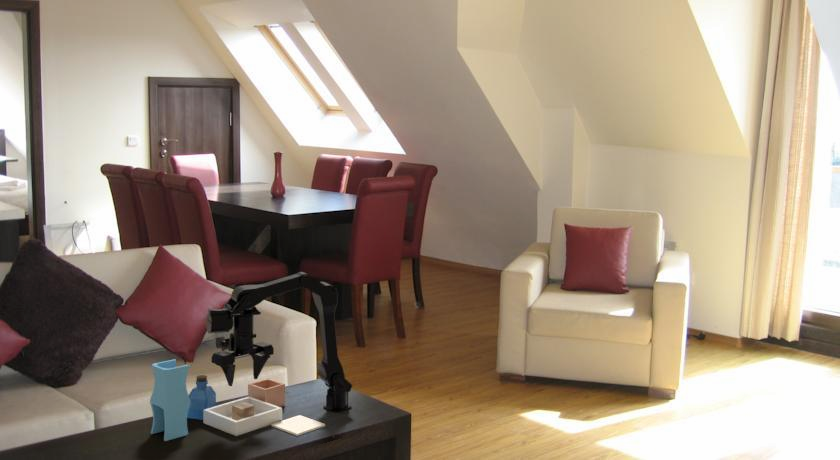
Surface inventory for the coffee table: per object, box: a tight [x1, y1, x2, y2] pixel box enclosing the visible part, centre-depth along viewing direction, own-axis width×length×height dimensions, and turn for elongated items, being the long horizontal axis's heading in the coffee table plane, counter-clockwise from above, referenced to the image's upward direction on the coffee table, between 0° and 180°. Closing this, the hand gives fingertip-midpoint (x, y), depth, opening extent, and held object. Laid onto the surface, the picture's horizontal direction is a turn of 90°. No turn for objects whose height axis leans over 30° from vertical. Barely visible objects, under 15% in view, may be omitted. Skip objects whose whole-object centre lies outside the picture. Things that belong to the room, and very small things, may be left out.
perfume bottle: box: [187, 374, 217, 420], centre depth 259 cm, size 6×6×12 cm
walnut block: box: [232, 402, 254, 421], centre depth 255 cm, size 4×4×4 cm
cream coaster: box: [270, 414, 326, 437], centre depth 254 cm, size 11×11×1 cm
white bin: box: [202, 396, 283, 437], centre depth 256 cm, size 17×15×4 cm
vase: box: [149, 358, 191, 442], centre depth 244 cm, size 8×8×20 cm
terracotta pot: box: [247, 378, 286, 408], centre depth 270 cm, size 8×8×7 cm
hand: (243, 382), depth 254 cm, fingers open, 9 cm apart
